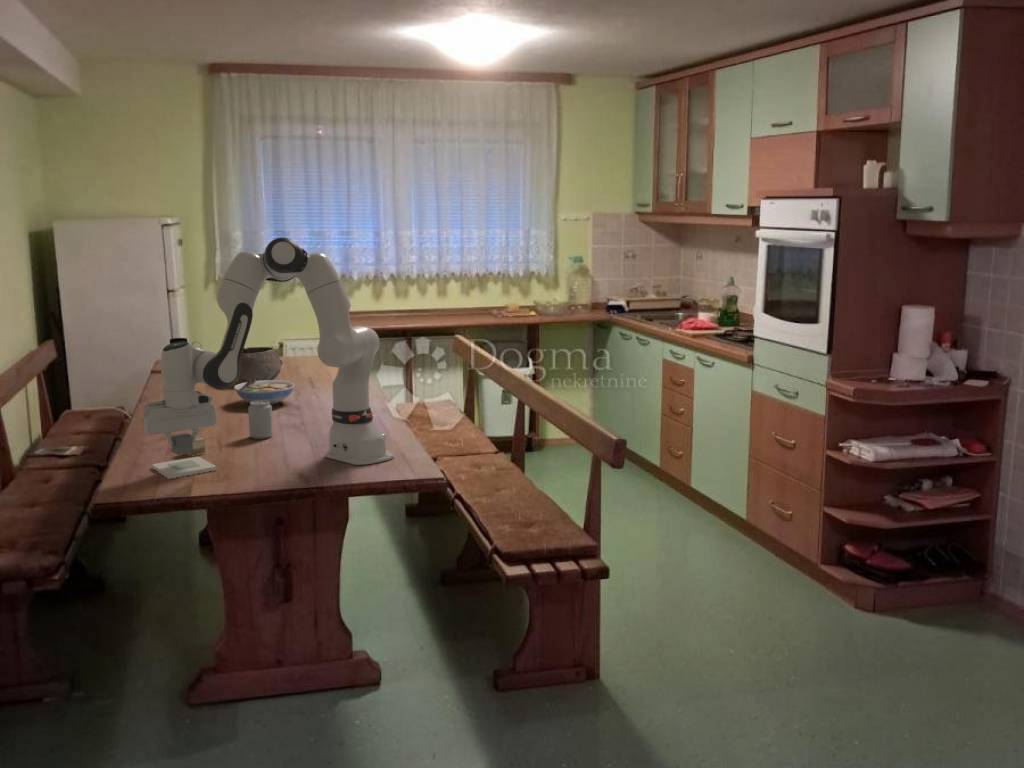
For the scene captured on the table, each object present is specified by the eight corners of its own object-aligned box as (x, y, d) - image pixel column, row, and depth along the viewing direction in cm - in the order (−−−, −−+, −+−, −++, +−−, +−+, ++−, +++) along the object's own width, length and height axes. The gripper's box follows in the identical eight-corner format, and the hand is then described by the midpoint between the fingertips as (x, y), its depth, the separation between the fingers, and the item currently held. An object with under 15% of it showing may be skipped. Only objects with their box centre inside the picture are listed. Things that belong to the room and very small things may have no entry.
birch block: (205, 454, 295) (204, 438, 294) (190, 456, 293) (189, 441, 292) (199, 451, 299) (198, 435, 298) (185, 453, 296) (184, 438, 295)
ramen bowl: (287, 411, 354) (287, 389, 353) (226, 411, 354) (225, 389, 353) (302, 397, 379) (301, 377, 377) (244, 397, 379) (243, 377, 377)
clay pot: (256, 390, 393) (254, 354, 390) (221, 385, 404) (219, 350, 401) (292, 382, 411) (291, 347, 408) (258, 377, 421) (256, 343, 418)
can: (250, 440, 312) (248, 404, 310) (249, 435, 319) (247, 400, 317) (273, 439, 314) (271, 403, 312) (272, 433, 321) (270, 398, 319)
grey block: (193, 452, 278) (192, 435, 277) (177, 454, 275) (176, 438, 274) (187, 449, 281) (186, 432, 280) (171, 451, 278) (170, 434, 277)
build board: (216, 470, 278) (216, 465, 277) (168, 479, 269) (168, 474, 269) (198, 460, 288) (198, 455, 288) (151, 468, 280) (151, 463, 279)
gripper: (146, 405, 266) (149, 452, 269) (217, 396, 279) (219, 441, 281) (138, 401, 271) (142, 448, 274) (209, 392, 284) (211, 437, 286)
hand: (182, 445), depth 278 cm, fingers closed on grey block, 5 cm apart
